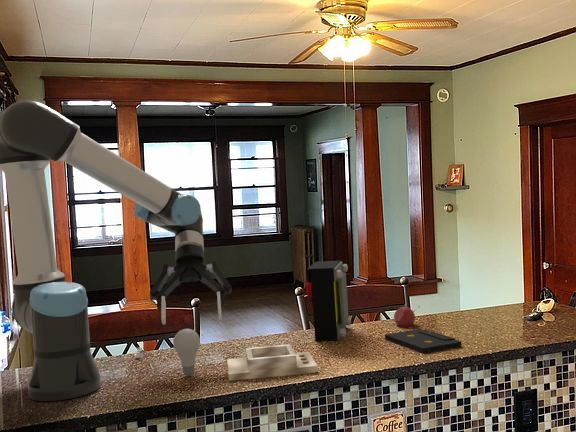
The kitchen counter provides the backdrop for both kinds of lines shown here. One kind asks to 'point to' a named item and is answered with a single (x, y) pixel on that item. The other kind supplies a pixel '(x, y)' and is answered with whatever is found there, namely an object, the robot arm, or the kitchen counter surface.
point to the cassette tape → (423, 340)
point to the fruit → (404, 317)
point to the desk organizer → (270, 363)
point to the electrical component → (328, 299)
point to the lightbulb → (187, 349)
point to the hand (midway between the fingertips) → (191, 319)
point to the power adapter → (139, 353)
